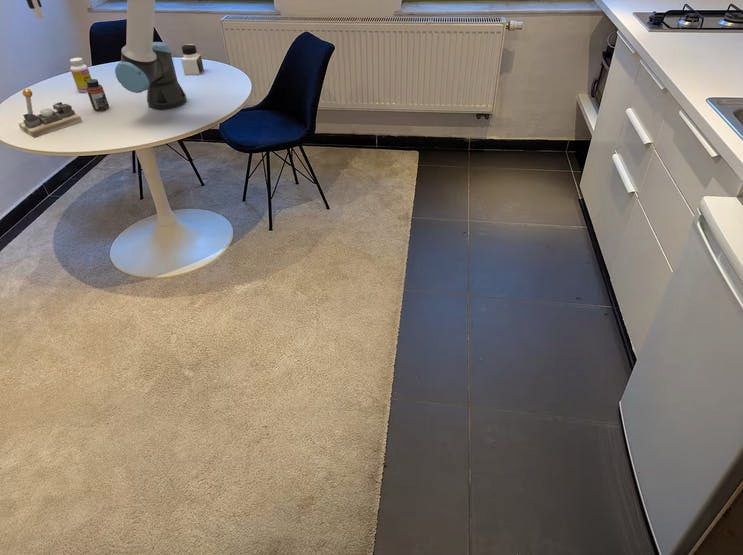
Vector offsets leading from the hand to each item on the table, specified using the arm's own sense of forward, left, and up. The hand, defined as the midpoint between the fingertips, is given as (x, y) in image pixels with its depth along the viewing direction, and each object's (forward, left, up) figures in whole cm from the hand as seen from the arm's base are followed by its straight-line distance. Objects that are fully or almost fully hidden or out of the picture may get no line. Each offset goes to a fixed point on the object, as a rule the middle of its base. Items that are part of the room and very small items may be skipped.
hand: (39, 17), depth 193 cm
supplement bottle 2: (-6, -8, -35) cm, 36 cm away
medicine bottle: (+1, -57, -35) cm, 67 cm away
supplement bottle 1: (+20, -15, -35) cm, 43 cm away
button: (-6, +12, -31) cm, 34 cm away
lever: (-6, +18, -30) cm, 36 cm away
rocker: (-6, +6, -29) cm, 31 cm away
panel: (-6, +12, -34) cm, 37 cm away
